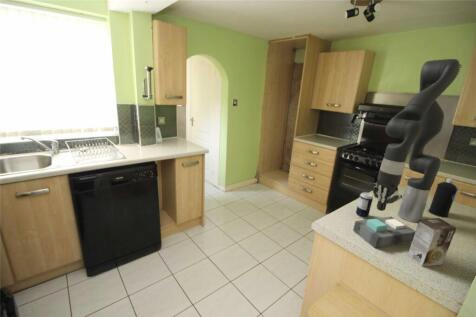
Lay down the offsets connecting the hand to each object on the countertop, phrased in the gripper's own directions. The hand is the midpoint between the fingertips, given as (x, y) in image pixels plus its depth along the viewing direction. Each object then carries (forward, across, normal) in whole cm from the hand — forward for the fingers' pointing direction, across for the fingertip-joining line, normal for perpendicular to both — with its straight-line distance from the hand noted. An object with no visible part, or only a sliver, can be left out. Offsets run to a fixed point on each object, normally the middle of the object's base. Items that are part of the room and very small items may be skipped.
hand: (380, 209), depth 93 cm
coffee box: (+14, -15, -9) cm, 23 cm away
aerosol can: (+13, +10, -54) cm, 57 cm away
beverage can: (+14, +16, -10) cm, 23 cm away
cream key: (+12, 0, -11) cm, 16 cm away
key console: (+14, 0, -6) cm, 15 cm away
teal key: (+11, 0, 0) cm, 11 cm away
